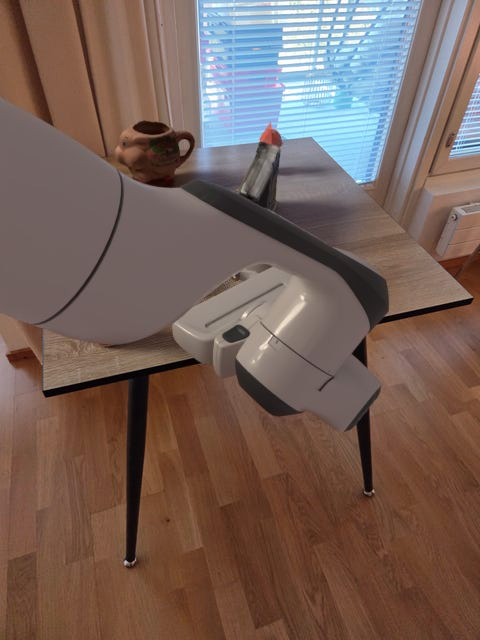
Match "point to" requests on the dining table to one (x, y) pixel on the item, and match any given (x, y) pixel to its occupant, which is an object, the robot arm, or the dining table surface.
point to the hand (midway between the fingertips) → (207, 281)
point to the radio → (262, 177)
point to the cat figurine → (271, 136)
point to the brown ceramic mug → (152, 152)
